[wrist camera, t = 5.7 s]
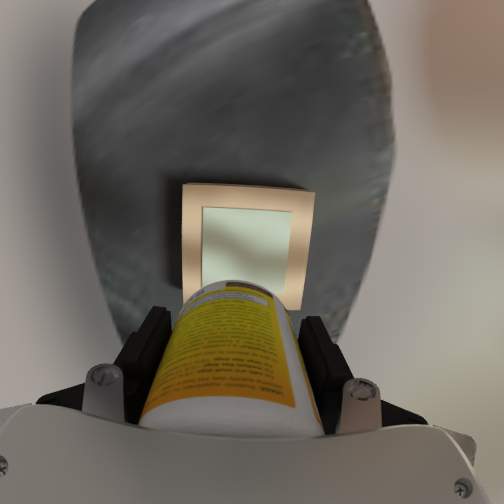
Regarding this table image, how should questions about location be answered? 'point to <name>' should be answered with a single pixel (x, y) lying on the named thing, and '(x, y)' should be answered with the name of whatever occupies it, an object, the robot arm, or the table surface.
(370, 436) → the robot arm
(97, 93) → the table surface
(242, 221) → the base
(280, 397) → the supplement bottle
